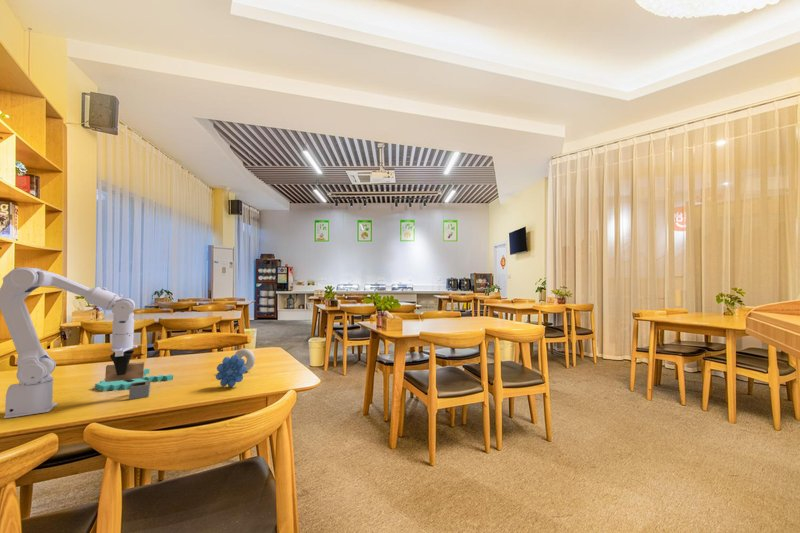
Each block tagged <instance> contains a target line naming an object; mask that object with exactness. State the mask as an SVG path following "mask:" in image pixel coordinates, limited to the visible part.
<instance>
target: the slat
mask: <svg viewBox="0 0 800 533" xmlns="http://www.w3.org/2000/svg"><path fill="white" fill-rule="evenodd" d="M144 369H145V361H140V362H139V361H138V362H129V363H128V365H127V370H126V373H125V375H117V373H116V369H115V365H114V364H107V365H106V366H105V378H104V379H105V382H111V381H120V380H129V379H139V378H143V377H145V376H144Z"/></svg>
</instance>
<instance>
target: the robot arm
mask: <svg viewBox="0 0 800 533" xmlns="http://www.w3.org/2000/svg"><path fill="white" fill-rule="evenodd" d="M41 287H56V288H58V289H61V290H64V291H67V292H69V293H73V294H75V295H77V296H81V297H84V299H85V302H86V303H87V304H90V305H93V306H95V307H98V308H100V309H103V310H105V311H111V312H112V314H113V316H112V318H113V320H112V332H111V334H112V336H111V347H110V350H111V351H112V354H110V359H111V361H112V362H113V365H115V369H116V373H117V375H125V373H126V370H127V365H128V363H130V360H131V358H132V355H133V354H134V352H135V349H136V348H138V346H139V345H138V344H134V338H135V319H134V317H135V314H134V313H135V312H134V310H135V309H136V302H135V301H134V300H133V299H131V298H130V297H124V294H117V293H115V292H112V291H110V290H108V288H107V287H106V286H102V287H99V286H96V287H88V286H86V285H84V284H82V283H79V282H77V281H74V280H73V279H70V278H68V277H66V276H63V275H61V274H58V273H56V272H53V271H48V270H43V269H42V268H40V267H27V266H26V267H24V266H21V267H16V268H13V269H11V270H10V271H9V272H8V273H7V274H6V275H5V276H3V277H2V284H1V287H0V312H1V314H2V317H3V318H4V319H3V320H4V322H5V324H6V326H7V327H6V328H7V330H8V332H9V334H10V338H11V339H12V343H13V345H14V347H15V350H16V353H17V359H16V365H17V366H16V367H17V371H16V379H17V380H18V383H13V384H10V385H9V386H8V388H7V390H6V393H5V410H4V417H3V419H10V418H17V417H22V416H31V415H36V414H42V413H43V414H44V413H49V412H51V410H52V409H54V408H55V407H56V406H57V405H58V402H53V397H54V396H53V393H54V376H53V375H52V373H53V372H54V371H55V369H56V365H57V363H56V361H55V360H54V359H53V358H51V357H50V355H49V354H48V351H47V350H46V349H45V348H43V347H42V346H43V345H42V344H41V342H40V339H39V335H38V333H37V331H36V327H35V326H34V322H33V320H32V317H31V315H30V311H29V309H28V306H27V304H26V301H25V300H26V298H28V296H29V295H31V293H32V292H33V291H34V290H36V289H39V288H41Z"/></svg>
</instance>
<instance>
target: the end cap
mask: <svg viewBox="0 0 800 533" xmlns="http://www.w3.org/2000/svg"><path fill="white" fill-rule="evenodd" d="M150 393H151V382H150V381H143V382H135V383H132V386H131V387H130V389H129V394H128V395H129V399H128V400H137V399H143V398H149V397H150Z"/></svg>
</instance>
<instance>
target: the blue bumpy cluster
mask: <svg viewBox="0 0 800 533" xmlns="http://www.w3.org/2000/svg"><path fill="white" fill-rule="evenodd" d="M238 359H239V358H238V356H237V355H235V354H233V355H232V356H231V357H229V356H225V357H224V358H223V359H222V362H221V363H219V364H218V365H217V366H216V371H217V373H216V375H215V380H218V381H220V382H219V384H220V386H222V387H225V386H228V388H233V387H234V386H235V385H236V384H237V383H242V381H243V380H244V376H243V375H244V374H245V373H246V372H247V371H246V370H247V368H246V367H245V366H243V365H244V364H245V363H246V362H245V361H246V360H245V359H244V358H242V359H239V360H238Z"/></svg>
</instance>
